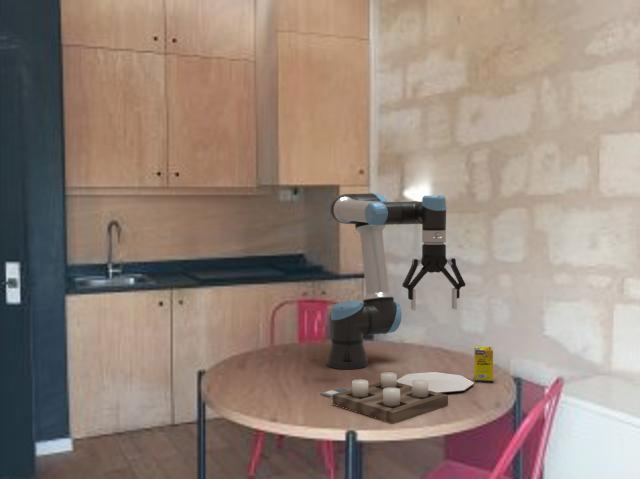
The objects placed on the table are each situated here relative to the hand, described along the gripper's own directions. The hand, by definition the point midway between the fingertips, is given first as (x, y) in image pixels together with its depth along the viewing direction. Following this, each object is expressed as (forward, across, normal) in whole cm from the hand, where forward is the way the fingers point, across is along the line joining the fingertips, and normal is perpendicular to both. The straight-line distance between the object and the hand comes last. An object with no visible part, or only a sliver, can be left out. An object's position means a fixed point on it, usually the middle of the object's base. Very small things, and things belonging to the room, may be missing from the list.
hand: (433, 309), depth 216 cm
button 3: (+22, -20, -26) cm, 40 cm away
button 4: (+22, -10, -19) cm, 31 cm away
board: (+25, -18, -17) cm, 36 cm away
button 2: (+22, -17, -9) cm, 29 cm away
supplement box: (+26, +19, +4) cm, 32 cm away
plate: (+26, +1, +2) cm, 26 cm away
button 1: (+22, -27, -16) cm, 38 cm away
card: (+25, -31, -4) cm, 40 cm away
